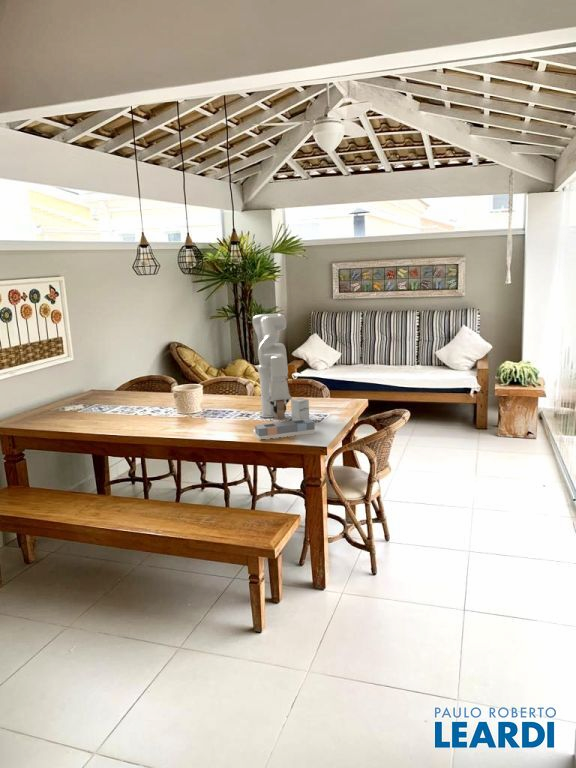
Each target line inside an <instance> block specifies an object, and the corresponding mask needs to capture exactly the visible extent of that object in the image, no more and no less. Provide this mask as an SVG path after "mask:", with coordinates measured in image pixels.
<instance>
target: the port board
mask: <svg viewBox="0 0 576 768" xmlns="http://www.w3.org/2000/svg"><path fill="white" fill-rule="evenodd" d="M315 426H316V425H315V421H314V420H312V419H311V418H309V419H301V420H293V421H292V420H288V421H287V420H285V421H280V422H279V421H277V422H272V423H270V422H269V423H263V424H255V425H254V429H252V434H253V435H254V437H256V439H257V440H258V441H262V440H261V439H266V440H271V439H270V438H273V439H280V438H279V437H281V438H287V436H288V437H296V436H301V435H309V434H311V435H312V434H315V433H316V429H315V428H316V427H315ZM295 435H296V436H295Z"/></svg>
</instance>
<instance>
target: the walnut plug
mask: <svg viewBox="0 0 576 768" xmlns="http://www.w3.org/2000/svg"><path fill="white" fill-rule="evenodd" d="M276 406H277V414H276V413H275V414H276V417H275V419H277V420H284V419H285V418H286V415H285V413H286V412H285V411H286V410H284V400H278V401H276Z"/></svg>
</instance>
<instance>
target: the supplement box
mask: <svg viewBox="0 0 576 768" xmlns="http://www.w3.org/2000/svg"><path fill="white" fill-rule="evenodd" d="M290 402H291V403H290V406H291V407H290V408H291V421H293V420H301V419H310V406H309V405H310V404H309V403H310V400H309V399H308V398H303V397H299V398H294V399H293V398H292V399H291V400H290Z"/></svg>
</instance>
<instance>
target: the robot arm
mask: <svg viewBox="0 0 576 768" xmlns="http://www.w3.org/2000/svg"><path fill="white" fill-rule="evenodd" d="M252 326H253V330H254V331H255V334H256V337H257V346H258V347H257V358H258V362H259V364H258V367H257V372H258V377H259V383H260V384H259V385H260V399H261V401H260V403H261V412H260V413H259V416H260V417H261V418H276V414H277V406H276V401H278V400H284V410H285V413H286V411H287V404H288V403H289V402H291V400H293V397H292V396H291V394H290V391H289V390H290V389H289V384H288V381H287V379H289V376H288V374H289V371H288V369H289V368H288V355H287V349H286V345H285V344H284V343H280V342H278V341H279V333H278V331H284V330H285V329H287V319H286V317H285V315H284V314H283V313H280V312H277V313H261V314H256V315H254V316H253V317H252ZM275 413H276V414H275Z"/></svg>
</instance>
